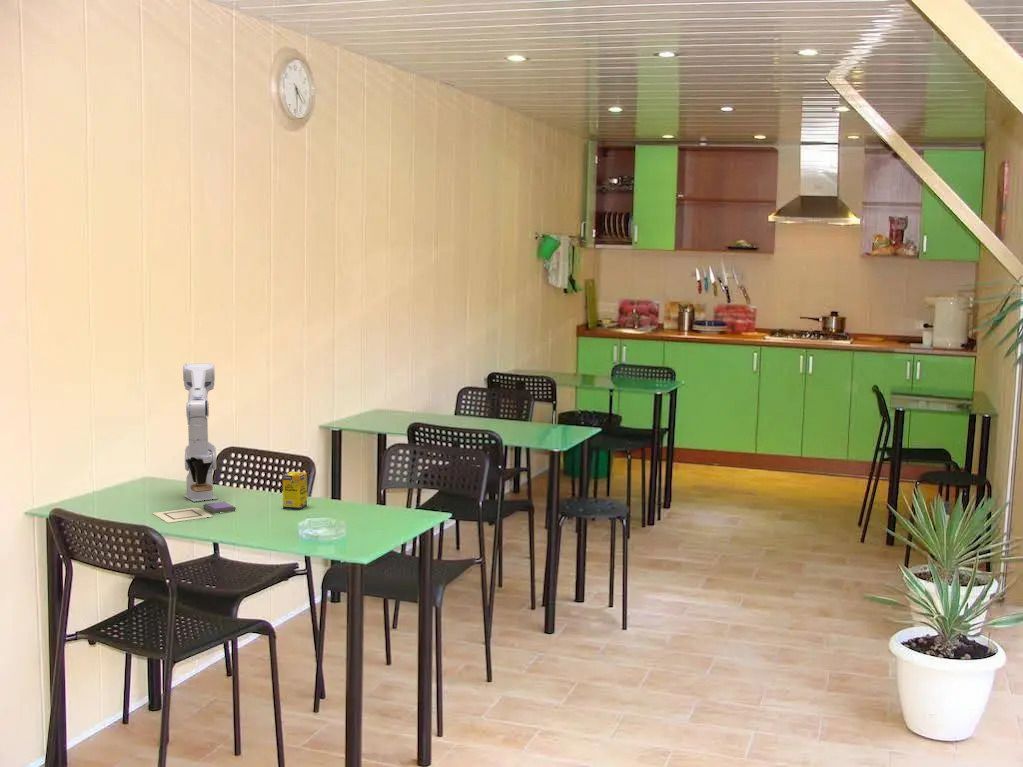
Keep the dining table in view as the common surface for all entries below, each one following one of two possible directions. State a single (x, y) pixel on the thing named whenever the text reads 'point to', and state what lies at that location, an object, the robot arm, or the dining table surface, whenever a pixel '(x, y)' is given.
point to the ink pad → (219, 507)
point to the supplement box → (295, 490)
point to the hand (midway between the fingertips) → (199, 482)
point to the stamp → (201, 487)
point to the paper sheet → (182, 515)
